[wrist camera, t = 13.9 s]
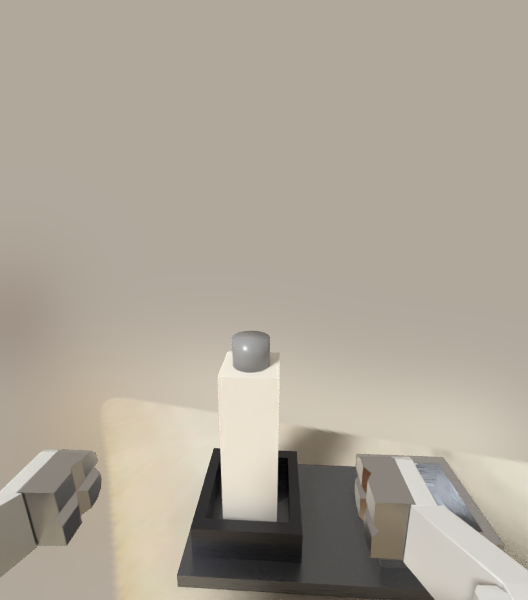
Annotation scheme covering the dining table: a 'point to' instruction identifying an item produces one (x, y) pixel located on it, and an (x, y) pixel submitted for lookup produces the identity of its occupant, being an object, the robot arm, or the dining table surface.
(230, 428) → the plug
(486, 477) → the dining table surface
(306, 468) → the panel
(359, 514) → the robot arm
